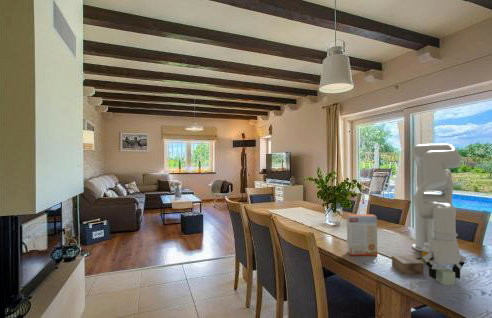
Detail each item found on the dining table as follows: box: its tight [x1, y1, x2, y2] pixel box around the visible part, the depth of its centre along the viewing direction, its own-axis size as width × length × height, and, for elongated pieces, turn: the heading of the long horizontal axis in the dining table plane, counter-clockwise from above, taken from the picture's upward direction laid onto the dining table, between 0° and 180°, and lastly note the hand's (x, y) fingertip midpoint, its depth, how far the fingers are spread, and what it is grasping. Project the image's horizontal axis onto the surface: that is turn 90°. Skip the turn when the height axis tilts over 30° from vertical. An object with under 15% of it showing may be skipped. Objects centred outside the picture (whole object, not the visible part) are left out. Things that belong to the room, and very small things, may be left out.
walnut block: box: [391, 255, 425, 275], centre depth 121 cm, size 9×9×5 cm
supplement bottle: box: [421, 243, 434, 266], centre depth 127 cm, size 5×5×10 cm
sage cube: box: [434, 266, 456, 286], centre depth 109 cm, size 5×5×5 cm
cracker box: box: [346, 213, 378, 257], centre depth 141 cm, size 14×6×21 cm, turn 84°
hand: (444, 277), depth 109 cm, fingers open, 9 cm apart
